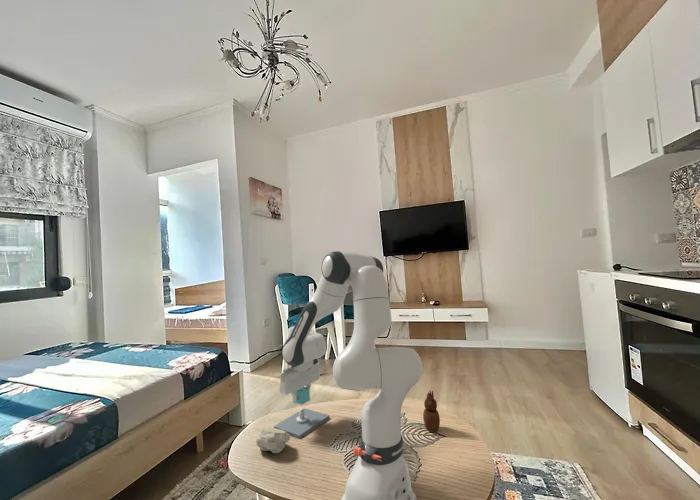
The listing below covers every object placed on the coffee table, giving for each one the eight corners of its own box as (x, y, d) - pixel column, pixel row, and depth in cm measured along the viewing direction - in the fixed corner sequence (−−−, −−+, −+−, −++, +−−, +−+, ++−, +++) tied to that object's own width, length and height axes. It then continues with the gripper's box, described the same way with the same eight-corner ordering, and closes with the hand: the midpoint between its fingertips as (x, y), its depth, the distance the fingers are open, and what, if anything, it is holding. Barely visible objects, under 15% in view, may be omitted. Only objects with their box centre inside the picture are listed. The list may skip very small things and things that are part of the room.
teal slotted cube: (301, 404, 127) (301, 391, 128) (293, 402, 130) (292, 389, 130) (309, 400, 131) (309, 387, 132) (301, 397, 134) (300, 385, 134)
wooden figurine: (442, 434, 117) (439, 392, 118) (426, 434, 117) (423, 393, 118) (437, 424, 124) (435, 385, 124) (422, 425, 124) (420, 386, 124)
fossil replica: (261, 442, 118) (252, 462, 108) (258, 421, 117) (248, 438, 107) (293, 439, 117) (287, 457, 107) (290, 417, 117) (284, 433, 107)
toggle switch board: (299, 438, 119) (298, 423, 119) (273, 429, 127) (273, 414, 127) (329, 418, 133) (328, 404, 134) (304, 411, 141) (304, 398, 142)
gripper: (286, 372, 121) (288, 409, 120) (321, 357, 138) (323, 390, 137) (275, 369, 125) (276, 405, 124) (310, 355, 141) (312, 387, 141)
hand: (301, 397), depth 131 cm, fingers closed on teal slotted cube, 5 cm apart
